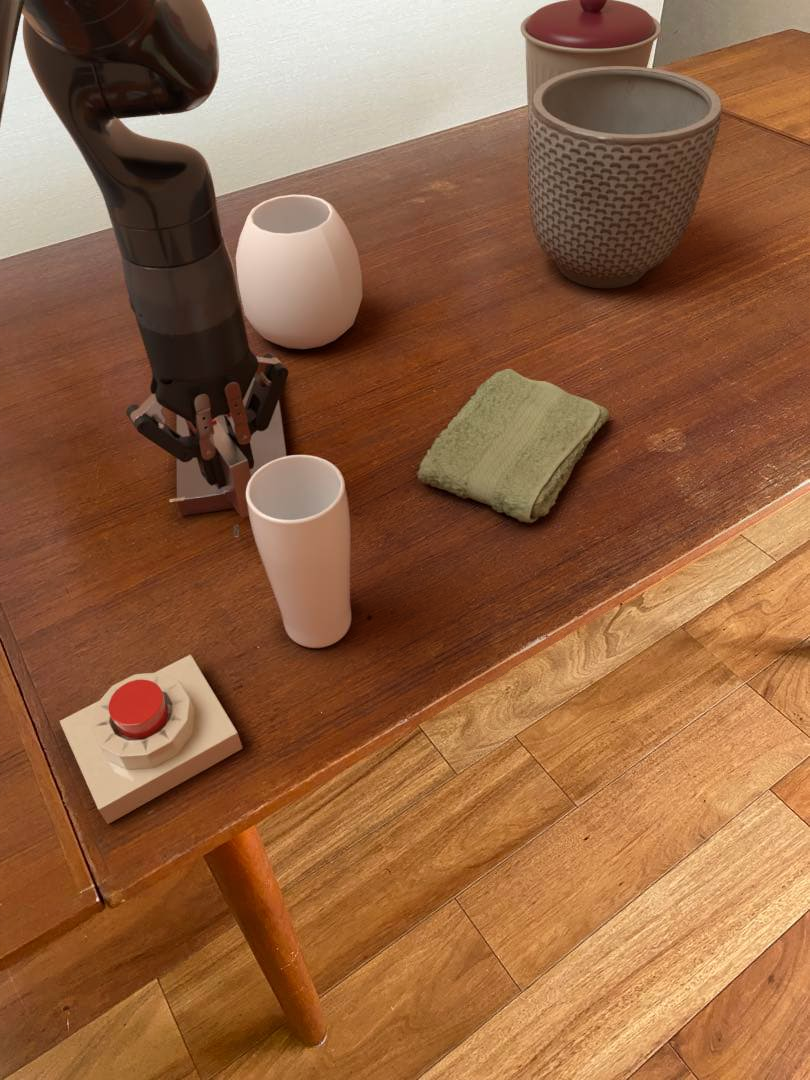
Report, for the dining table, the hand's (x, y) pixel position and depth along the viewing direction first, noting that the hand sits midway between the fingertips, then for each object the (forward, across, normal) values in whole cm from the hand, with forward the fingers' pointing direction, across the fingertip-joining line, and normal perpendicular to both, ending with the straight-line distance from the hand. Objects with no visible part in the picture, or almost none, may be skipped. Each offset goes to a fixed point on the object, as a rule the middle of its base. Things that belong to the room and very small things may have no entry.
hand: (230, 476), depth 75 cm
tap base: (+4, +2, +6) cm, 7 cm away
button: (0, -15, -18) cm, 24 cm away
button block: (+4, -15, -18) cm, 24 cm away
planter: (+4, +54, +12) cm, 55 cm away
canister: (+4, +72, +39) cm, 82 cm away
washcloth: (+4, +25, -8) cm, 26 cm away
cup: (+4, +18, +22) cm, 29 cm away
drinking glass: (+4, 0, -16) cm, 16 cm away
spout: (+2, 0, 0) cm, 2 cm away
